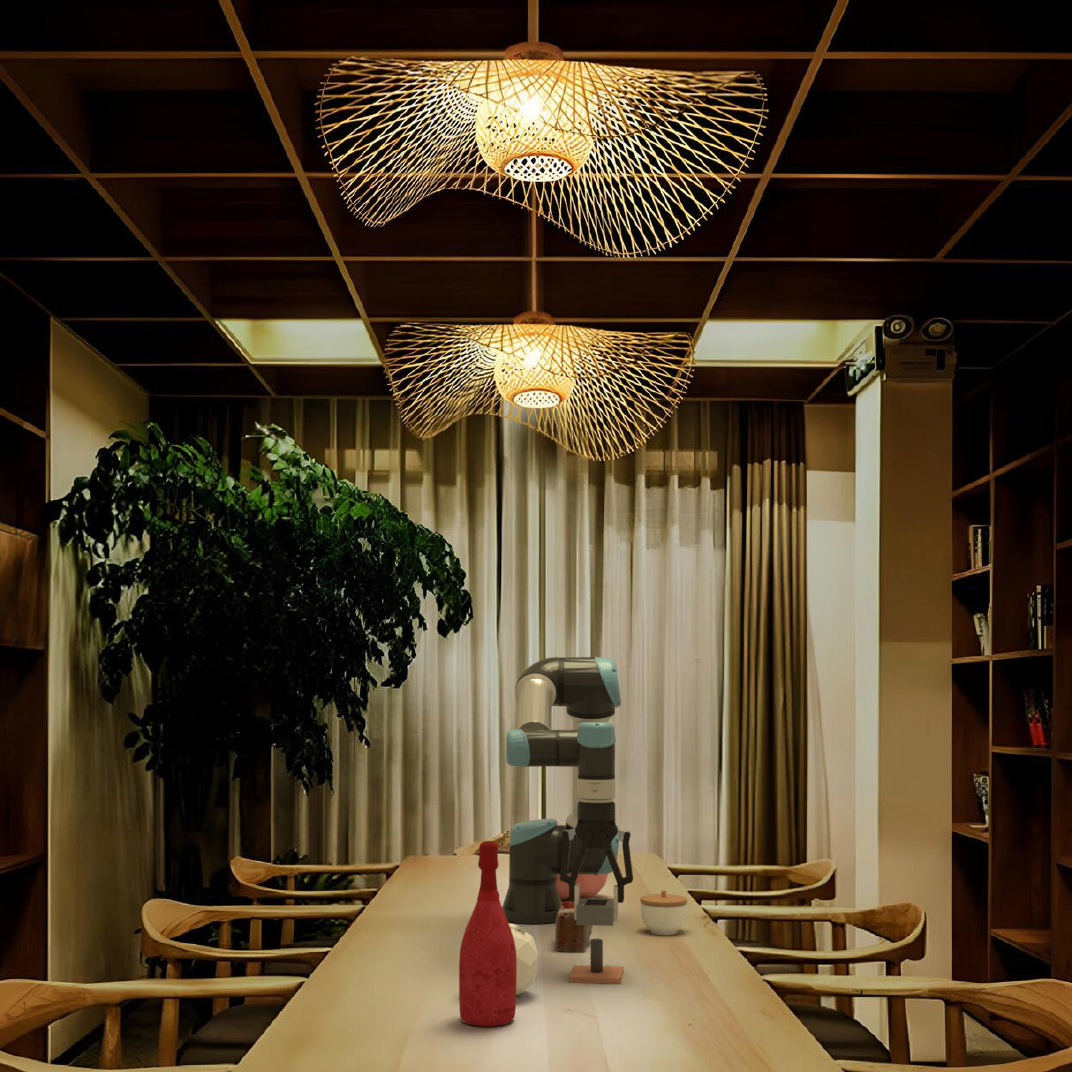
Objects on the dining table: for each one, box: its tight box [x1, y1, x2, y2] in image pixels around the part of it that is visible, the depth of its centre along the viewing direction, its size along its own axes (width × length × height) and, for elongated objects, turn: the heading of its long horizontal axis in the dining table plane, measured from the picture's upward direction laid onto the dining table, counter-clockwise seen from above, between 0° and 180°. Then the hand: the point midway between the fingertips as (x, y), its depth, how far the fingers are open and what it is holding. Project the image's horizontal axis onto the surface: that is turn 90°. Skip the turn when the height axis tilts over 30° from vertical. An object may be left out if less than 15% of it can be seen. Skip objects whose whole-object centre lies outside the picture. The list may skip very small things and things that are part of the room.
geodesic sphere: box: [509, 923, 539, 996], centre depth 231 cm, size 14×14×14 cm
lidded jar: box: [639, 889, 688, 936], centre depth 288 cm, size 11×11×9 cm
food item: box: [554, 900, 594, 953], centre depth 274 cm, size 14×8×10 cm, turn 176°
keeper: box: [568, 938, 625, 985], centre depth 245 cm, size 10×10×7 cm
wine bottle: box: [458, 840, 517, 1028], centre depth 215 cm, size 10×10×30 cm
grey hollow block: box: [576, 897, 615, 927], centre depth 246 cm, size 10×7×4 cm
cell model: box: [557, 873, 610, 901], centre depth 331 cm, size 17×20×11 cm
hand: (596, 919), depth 246 cm, fingers closed on grey hollow block, 7 cm apart
